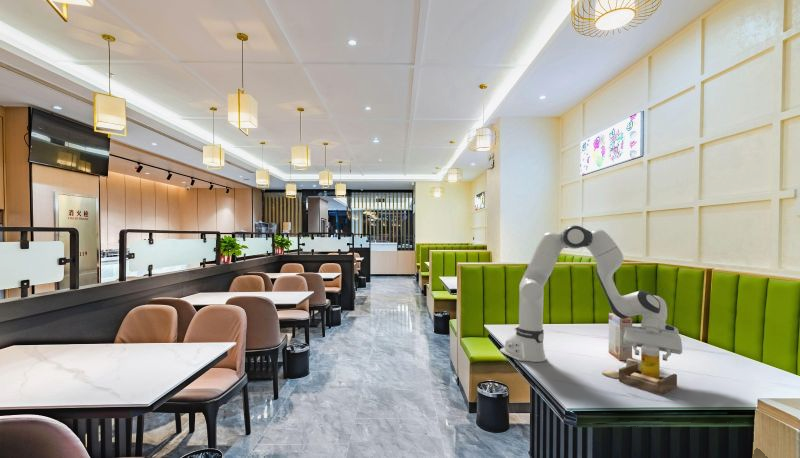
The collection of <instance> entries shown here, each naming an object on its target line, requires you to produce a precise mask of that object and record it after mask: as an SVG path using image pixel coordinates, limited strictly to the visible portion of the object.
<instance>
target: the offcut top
mask: <svg viewBox="0 0 800 458" xmlns="http://www.w3.org/2000/svg"><path fill="white" fill-rule="evenodd" d="M625 362H626V365H625V367H626V366H628V365H631V364H634V363H637V364H638V370H641V360H637V359H634V358H632V359H631V358H628V359H626V361H625Z"/></svg>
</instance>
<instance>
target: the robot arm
mask: <svg viewBox="0 0 800 458" xmlns="http://www.w3.org/2000/svg"><path fill="white" fill-rule="evenodd" d="M581 248H585V249H587V250H588V251H589V252H590V253H591V255H592V257H593V258H594V259H595V262H596V265H597V268H596V270H595V272H596V275H597V276H596V277H597V278H598V281H599V283H600V285H601V287H602V290H603V292H604V294H605V296H606V298H607V301H608V303H609V308H610V310H611V313H614V314H615V315H616V316H618V317H619V318H622V319H626V318H631V317H634V316H639V315H640V316H641V317H642V319H641V323H640V326H634V325H632V326H627V327H625V329H624V332H625V334H624V338H623V340H624V343H625V344H626V345H631V346H632V350H633V351H634V355H635V356H640V350H639V349H637V348H641V347H642V345H643V344H649V345H654V346H657V347H658V349H659V352H664V353H665V354H662V361H666V362H668V358H669V357H670V356H672V354H675V355H681V354H683V344H682V342H683V341H682V338H681V336H680V333H679V329H678V328H677V327H675V326H674V325H673V326H672V325H670V324H668V323H666V321H667V319H668V307H667V302H666V301H665V299H663V298H662V297H660V296H659V295H653V294H652V293H649V292H648V291H646V290H638V291H634V292H631V293H628V294H624V295H621V294H620V293H619V291H618V289H617V287H616V284H615V282H614V279H613V276H614V273H615V272H617V270H618V269H619V268H621V266H622V264H623V262H624V254H623V252H622V251H621V249H620V248H619V246H618V244H616V242H615V240H614V239H613V238H612V237H611V236H610V234H608V233H607V232H606V231H605V230H603V229H594V230H592V231H590V230H588V229H586V228H584V227H583V226H580V225H574V224H573V225H570V226H567V227H566V228H565V229H563V230H562V231H561V232H560V233H555V232H553V231H552V232H550V231H549V232H545V233H544V234H543V235H542V237H541V239H540V240H539V241H538V243H537V245H536V248H535V249H534V252H533V254H532V257H531V258H530V261H529V262H528V266H527V267H526V270H525V271H524V274H523V276H522V278H521V281H520V283H519V286H518V287H519V288H518V290H519V296H518V297H519V303H518V304H519V305H518V309H519V310H518V319H519V320H518V327H514V331H516V332H515V333H514V334H513V335H512V336H510V337H508V338H507V339H506V340H505V342H504V347H502V348H500V349H499V352H500V353H502V354H503V355H504V354H505V355H507V356H508V357H510V358H513V359H515V360H517V361H522V362H533V363H537V362H538V363H541V362H545V361H546V360H547V356H546V353H545V349H544V332H545V331H544V329H543V328H544V327H543V325H544V324H543V320H544V319H543V318H544V299H545V298H544V297H545V296H544V295H545V292H544V291H545V290H544V287H545V285H546V284H547V282H548V280H549V277H550V276H551V275H552V272H553V270H554V268H555V265H556V264H557V260H558V259H559V256H560V254H561V252H562V251H563V249H573V250H575V249H576V250H577V249H581Z"/></svg>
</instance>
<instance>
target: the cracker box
mask: <svg viewBox="0 0 800 458" xmlns="http://www.w3.org/2000/svg"><path fill="white" fill-rule="evenodd" d="M627 326H633V318H631V317H629V318H626V319H622V318H619V317H618V316H616V315H615V314H614V313H613V312H608V353H609V354H611V355H612V356H614V358H616V359H617V360H619V361H623V362H626V359H628V358H631V359H633V346H631V345H626V344H625V343H624V340H623V338H624V334H625V332H624V329H625V327H627Z"/></svg>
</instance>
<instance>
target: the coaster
mask: <svg viewBox="0 0 800 458" xmlns="http://www.w3.org/2000/svg"><path fill="white" fill-rule="evenodd" d="M601 372H602V373H601V374H602V375H603V376H605V377H607V378H611V379H617V380H619V371H616V370H615V371H614V370H608V369H605V370H602V371H601Z"/></svg>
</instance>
